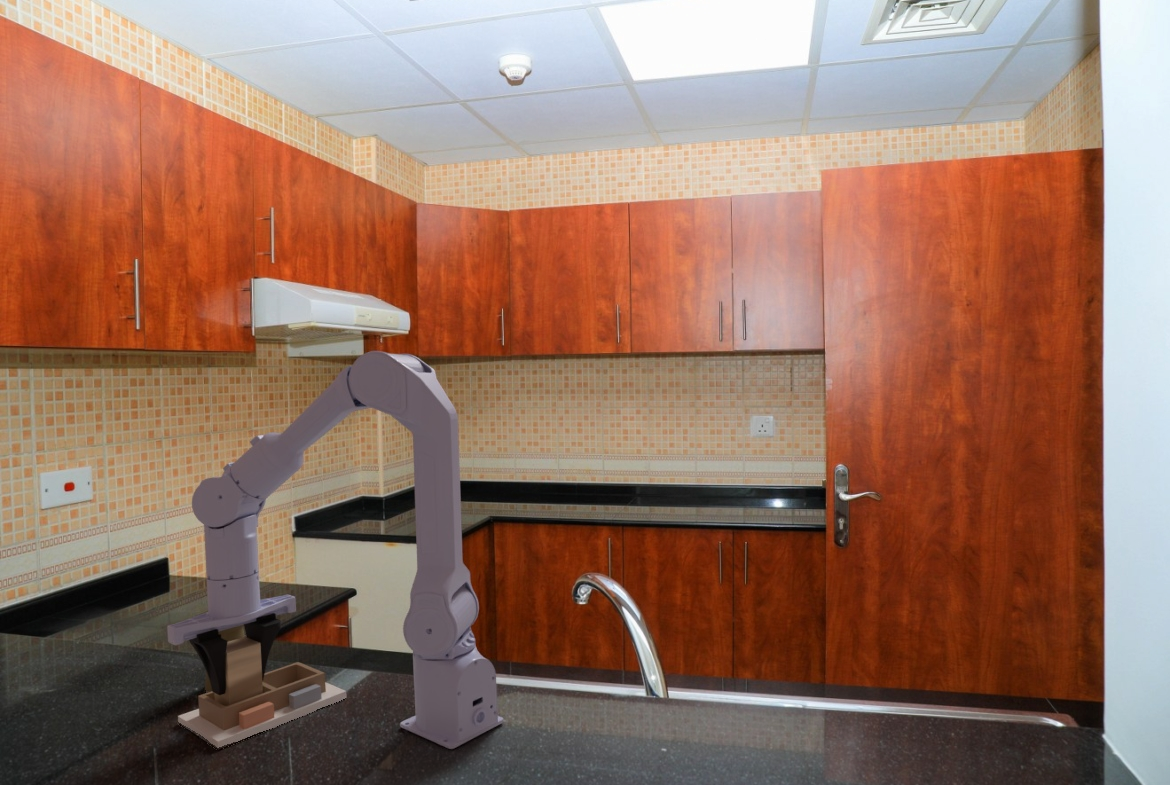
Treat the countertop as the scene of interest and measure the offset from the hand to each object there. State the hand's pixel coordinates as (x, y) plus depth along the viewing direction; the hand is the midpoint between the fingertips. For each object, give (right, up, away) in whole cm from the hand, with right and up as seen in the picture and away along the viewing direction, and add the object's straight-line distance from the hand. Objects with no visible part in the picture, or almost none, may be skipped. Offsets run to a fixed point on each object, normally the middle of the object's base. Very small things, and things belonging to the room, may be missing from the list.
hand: (238, 685), depth 88 cm
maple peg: (0, -2, 0) cm, 2 cm away
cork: (-6, -5, +11) cm, 13 cm away
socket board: (+2, -4, +2) cm, 5 cm away
